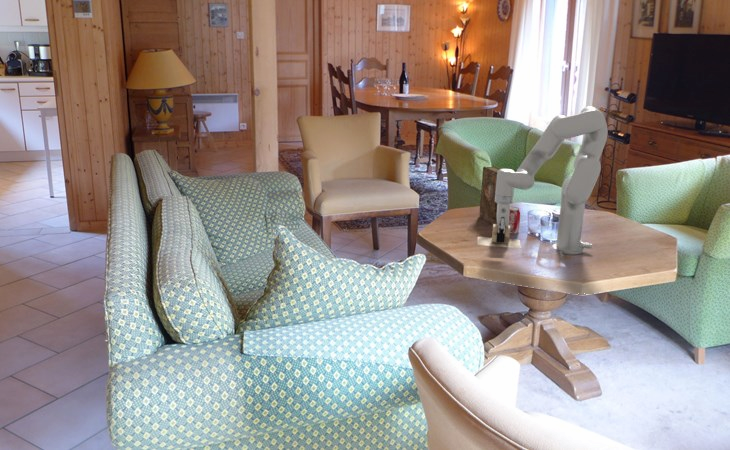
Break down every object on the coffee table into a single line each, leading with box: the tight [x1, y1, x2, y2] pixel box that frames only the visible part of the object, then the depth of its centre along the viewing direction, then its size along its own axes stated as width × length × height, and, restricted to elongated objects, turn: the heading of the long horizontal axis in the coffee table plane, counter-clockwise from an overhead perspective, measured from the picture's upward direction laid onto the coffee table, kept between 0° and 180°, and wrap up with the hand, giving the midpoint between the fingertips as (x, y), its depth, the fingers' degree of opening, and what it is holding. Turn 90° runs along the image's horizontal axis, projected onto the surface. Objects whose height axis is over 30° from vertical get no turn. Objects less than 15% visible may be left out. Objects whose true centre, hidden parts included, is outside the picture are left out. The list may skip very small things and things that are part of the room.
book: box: [479, 165, 501, 225], centre depth 327 cm, size 16×6×25 cm, turn 17°
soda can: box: [509, 206, 521, 235], centre depth 309 cm, size 7×7×12 cm
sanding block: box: [491, 224, 511, 244], centre depth 293 cm, size 7×4×7 cm, turn 80°
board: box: [477, 236, 522, 249], centre depth 294 cm, size 18×12×1 cm, turn 80°
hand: (500, 239), depth 293 cm, fingers closed on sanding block, 4 cm apart
